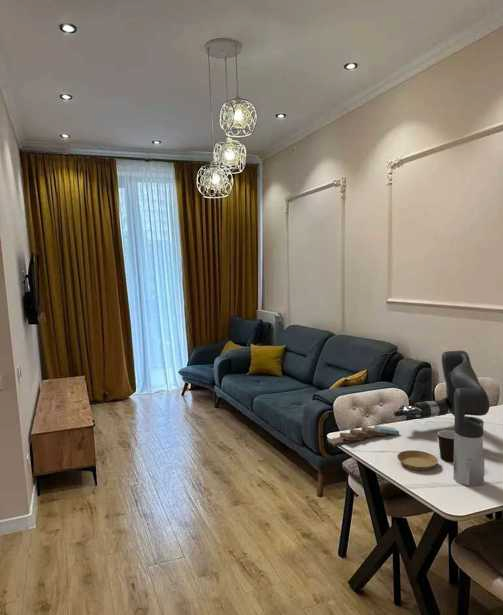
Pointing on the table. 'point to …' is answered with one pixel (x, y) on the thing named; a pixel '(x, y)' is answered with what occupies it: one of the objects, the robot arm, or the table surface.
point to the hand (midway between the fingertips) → (394, 413)
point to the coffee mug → (446, 445)
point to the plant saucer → (417, 460)
